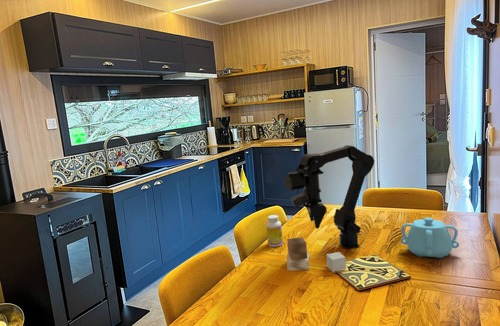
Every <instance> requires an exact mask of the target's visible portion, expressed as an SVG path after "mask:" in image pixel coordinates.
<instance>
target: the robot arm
mask: <svg viewBox="0 0 500 326" xmlns="http://www.w3.org/2000/svg"><path fill="white" fill-rule="evenodd" d="M344 158H348V160H350V161H351V163H352V165H351V169H352V175H351V178H350V181H349V185H348V188H347V191H346V195H345V197H344V202H343V204H342V206H341V207H340V208H336V209H335V210H334V211H335V212H334V215H333V217H332V218H333V223H334V226H335V227H336V228H337V229H338V230H339V231H340V233H339V235H338V236H339V237H338V238H339V245H341V247H342V248H343V249H351V248H352V249H353V248H359V247H360V244H359V238H358V234H360V233H361V232H360V231H361V227H360V226H359V225H358V224H357V223H356V210H355V209H356V206H357V203H358V200H359V197H360V193H361V192H362V187H363V185H364V181H365V177H366V176H367V175H368V174H370V173H371V171H372V169H373V167H374V165H375V159H374V157H373V156H372V155H370V154H367V153H366V152H364V151H362V150H360V149H358V148H357V147H356V146H354V145H349V144H347V145H344V146H342V147H338V148H335V149H330V150H328V151H324V152H320V153H305V154H303V155H302V156H301V158H300V162H299V164H298V166H297V167H296V170H295V171H294V172H287V173H286V177H285V179H284V185H285V188H286V190H287V191H288V192H292V191H297V190H302V189H303V190H302V192H301V193H299V194H296V195H294V196H292V197H291V198H290V200H291V203H292V204H293V206H294V208H295V209H296V208H299V207H300V206H302V205H303V206H304V207H305V208H306V210H307V213H308V216H309V219H310V221H311V222H314V227H315V229H316V230H317V229H318V230H319V228H320V226H321V223H322V221H323V220H324V217H325V215H326V214H327V213H328V212H327V208H328V207H327V206H325V205H324V203H323V201H322V198H321V192H322V190H321V188H320V178H319V177H320V176H319V175H324V172H325V171H322V170H321V168H323V166H324V165H326V164H328V163H332V162H335V161H338V160H341V159H344Z"/></svg>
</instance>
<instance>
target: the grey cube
mask: <svg viewBox="0 0 500 326" xmlns="http://www.w3.org/2000/svg"><path fill="white" fill-rule="evenodd" d="M326 266H327V268H328V269H329V270H330V271H331V272H332V273H336V272H335V271H337V270H341V269H346V270H347V263H346V256H345V255H343V254H342V253H341V252H340V251H337V252H336V251H335V252H333V253H332V252H331V253H327V254H326Z"/></svg>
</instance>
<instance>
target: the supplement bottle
mask: <svg viewBox="0 0 500 326" xmlns="http://www.w3.org/2000/svg"><path fill="white" fill-rule="evenodd" d="M265 225H266V227H265V228H266V238H267V245H268V246H269V247H272V248H273V247H274V248H276V247H277V248H278V247H281V246H282V245H283V244H284V239H283V228H282V223H281V221H279V215H276V214H271V215H268V216H267V222H266V224H265Z"/></svg>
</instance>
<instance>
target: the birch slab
mask: <svg viewBox="0 0 500 326" xmlns="http://www.w3.org/2000/svg"><path fill="white" fill-rule="evenodd" d="M286 254H287V255H286V256H287V257H286V266H287V267H286V269H287V271H309V270H310V258H309V257H310V255H309V251H307V258H304V259H297V260H291V258H290V256H289V254H288V252H287V253H286ZM308 255H309V256H308Z"/></svg>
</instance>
